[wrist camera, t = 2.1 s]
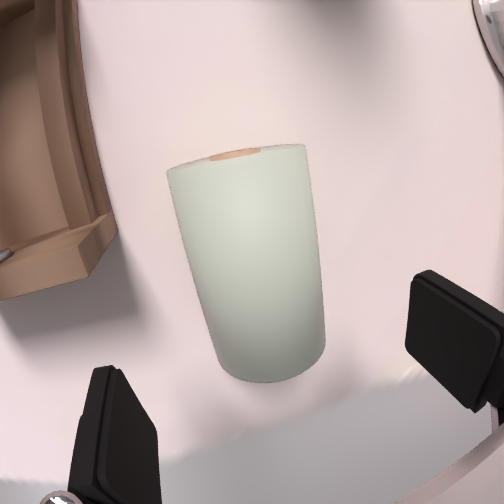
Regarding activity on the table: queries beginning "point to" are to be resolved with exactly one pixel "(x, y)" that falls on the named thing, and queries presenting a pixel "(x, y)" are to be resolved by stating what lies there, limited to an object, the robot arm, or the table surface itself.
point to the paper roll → (254, 258)
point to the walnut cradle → (47, 152)
